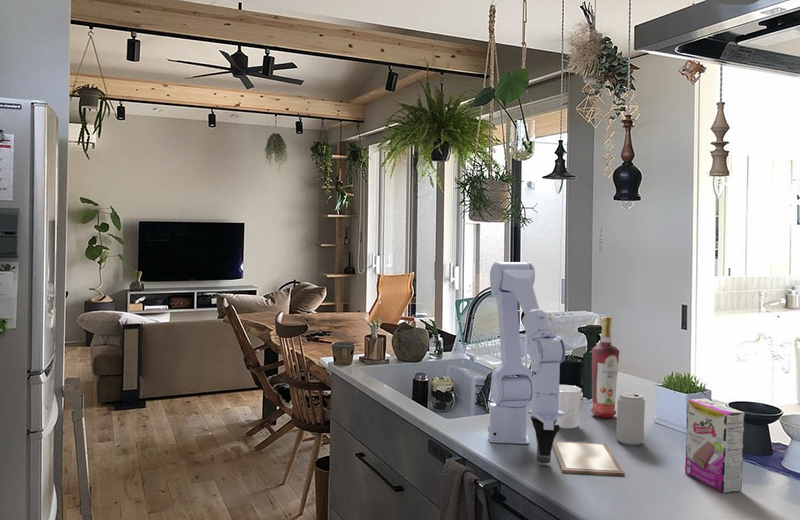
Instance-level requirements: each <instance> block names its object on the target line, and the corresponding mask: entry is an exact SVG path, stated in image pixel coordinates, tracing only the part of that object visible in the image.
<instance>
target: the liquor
mask: <svg viewBox="0 0 800 520" xmlns="http://www.w3.org/2000/svg"><path fill="white" fill-rule="evenodd" d="M611 328H612V317H611V316H601V335H600V343H599V344H598V345H595V346H593V347H592V348H591V375H592V377H591V378H592V408H591V410H590V412H591V413H592V414H593V416H595V417H596V418H598V419H606V420H607V419H612V418H613V417H614V416H616V415H617V410H616V398H617V397H616V396H617V395H616V394H617V393H616V392H617V381H618V372H619V361H620V360H619V358H620V350H619V349H618V348H617V347H616V346H614V345H612V336H611V333H612V332H611V330H612V329H611ZM608 345H609V346H608Z"/></svg>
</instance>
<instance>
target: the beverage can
mask: <svg viewBox="0 0 800 520" xmlns="http://www.w3.org/2000/svg"><path fill="white" fill-rule="evenodd" d="M618 395H619V396H618V397H616V398H617V400H616V401H617V403H616V405H617V406H616V433H615V434H616V440H617V441H618V442H619V443H620V444H622V445H626V446H632V447H633V446H640V445H641V444H642V443H644V442H645V439H644V438H645V409H646V408H645V406H646V400H645V398H644V395H643V394H641V393H639V392H634V391H633V392H632V391H623V392H619V393H618Z"/></svg>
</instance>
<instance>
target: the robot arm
mask: <svg viewBox="0 0 800 520" xmlns="http://www.w3.org/2000/svg"><path fill="white" fill-rule="evenodd" d="M535 270H536V269H535V266H534V265H533V263H532V262H530V261H524V262H521V261H519V262H518V261H515V262H513V261H510V262H509V261H503V262H502V261H495V262H493V264H492V266H491V267H490V272H489V283H490V284H489V285H490V291H491V296H493V297H494V298H496V302H497V304H496V305H497V314H498V315H497V316H498V329H499V342H500V357H501V358H500V359H501V364H500V365H499V366H498V367H496V368H495V369H494V370H493V371H492V372H491V383H490V395H491V398H492V399H493V401H494V402H490V403H489V411H488V412H489V413H488V425H487V433H488V437H489V439H488V440H489V442H490V443H496V444H498V443H499V444H519V445H520V444H521V445H529V444H530V441H529V437H528V433H527V423H528V422H527V421H528V420H527V419H528V418H527V417H528V406H530V405H532V406H531V410H530V415H531V416H530V420H531V422H532V426H533V428H534V431H535V438H536V440H537V439H538V447H539V452H540V455H544V456H550V453H551V454H552V449H553V447H552V445H553V441H555V437H557V434H558V432H559V431H560V429H561V428H560V427H559V425H555V423H556V421H557V418H558V417H559V416H564V412H563V411H558V407H559V385H560V374H561V373H560V372H561V371H560V370H561V369H560V367H561V364H562V363H563V362H564V361H565V358H566V345H565V341H564V340H563V338H562V337H561V336H559V335H558V333H555V332H554V330H553V326H552V325H551V322H550V320H549V317H548V315H547V313H546V312H545V311H544V310H542V309H540V307H539V304H538V300H537V297H536V293H535V289H534V284H535V281H536V280H535V278H536V271H535ZM518 304H519V305H520V308H521V309H522V312H523V314H524V316H523V317H522V325H523V327H524V330H525V332H526V336H527V338H528V342H529V343H530V344H529V346H528V355H529V360H530V368H528V367H527V366H526V365H524V364H523V362H522V361H523V360H522V350H521V338H520V337H521V335H520V324H519V310H518ZM504 376H505V377H504ZM531 403H532V404H531Z"/></svg>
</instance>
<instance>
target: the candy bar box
mask: <svg viewBox="0 0 800 520" xmlns="http://www.w3.org/2000/svg"><path fill="white" fill-rule="evenodd" d="M686 412H687V414H686V415H687V417H686V439H685V440H686V443H685V448H686V449H685V464H684V465H685V466H684V467H685V468H684V470H685V471H684V472H685V473H684V474H686V475H688V476H690V477H692V478H693V479H695V480H696V481H697V480H698V481H699V482H701V483H703V484H705V485H707V486H709V487H710V488H712V489H714V490H716V491H717V492H720V493H722V494H731V493H735V492H738V493H739V492H742V486H743V485H742V484H743V483H742V481H743V479H742V478H743V461H744V460H743V459H744V456H743V455H744V438H745V437H744V436H745V435H744V433H745V415H746V414H745V412H744V411H740V410H738V409H736V408H733V407H730V406H727V405H724V404H722V403H719V402H716V401H714V400H712V399H711V400H710V399H708V398H691V399H688V400H687V410H686Z"/></svg>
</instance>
